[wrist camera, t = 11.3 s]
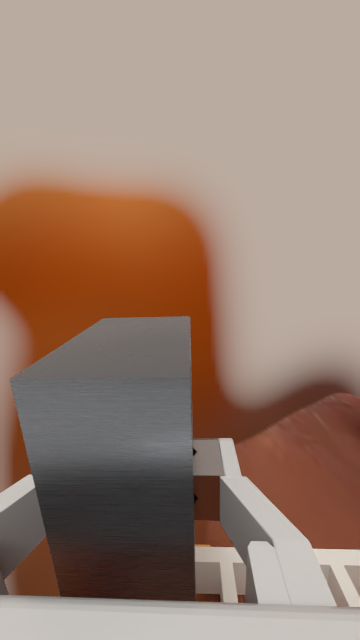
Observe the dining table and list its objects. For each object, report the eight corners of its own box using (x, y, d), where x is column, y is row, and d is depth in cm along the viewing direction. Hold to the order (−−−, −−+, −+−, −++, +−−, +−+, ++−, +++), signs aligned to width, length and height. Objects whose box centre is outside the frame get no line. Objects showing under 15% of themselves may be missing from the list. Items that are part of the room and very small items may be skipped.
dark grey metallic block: (194, 524, 12) (190, 316, 9) (198, 707, 7) (190, 377, 4) (127, 523, 12) (103, 318, 9) (85, 700, 7) (9, 378, 4)
